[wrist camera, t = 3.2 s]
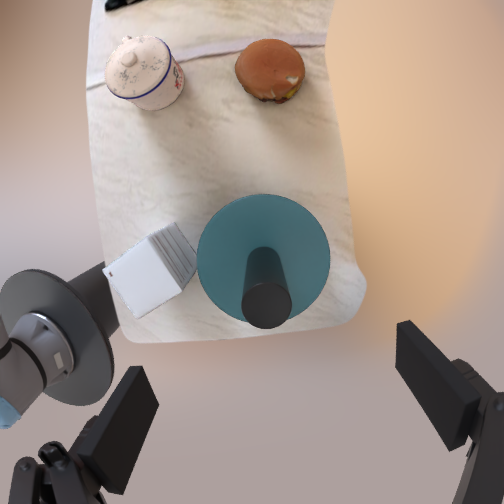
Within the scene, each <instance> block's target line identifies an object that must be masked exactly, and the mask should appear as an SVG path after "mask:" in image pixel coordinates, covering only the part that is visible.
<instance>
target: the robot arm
mask: <svg viewBox="0 0 504 504" xmlns="http://www.w3.org/2000/svg"><path fill="white" fill-rule="evenodd" d="M396 341H397V342H396V365H395V368H396V369H397V370H398V372H399V373H400V375H401V376H402V378H403V379H404V381H405V382H406V384H407V385H408V387H409V389H410V390H411V391H412V393H413V395H414V396H415V398H416V399H417V401H418V402H419V404H420V405H421V407H422V408H423V410H424V412H425V413H426V415H427V416H428V418H429V420H430V421H431V423H432V424H433V425H434V427H435V429H436V431H437V432H438V434H439V436H440V437H441V439H442V440H443V442H444V444H445V445H446V447H447V449H448V450H449V452H450V451H452V450H454V449H456V448H459V447H460V446H462V445H465V443H466V440H467V438H468V435H469V436H470V438H471V439H472V441H473V442H472V444H471V446H470V448H469V451H468V453H467V455H466V456H467V457H468V458H467V461H466V465H465V468H464V471H463V474H462V477H461V480H460V483H459V486H458V489H457V492H456V495H455V497H454V500H453V502H452V504H501V503H502V500H503V496H504V392H498V393H497V392H496V391H495V390H494V389H493V388H492V387H491V386H490V385H489V384H488V383H487V382H486V381H485V380H484V379H483V378H482V377H481V376H480V375H479V374H478V373H477V372H476V371H475V370H474V369H473V368H472V367H471V366H470V365H469V364H468V363H467V362H465V361H463V360H461V359H456V360H453V361H450V360H449V359H448V358H447V357H446V356H445V355H444V354H443V353H442V352H441V351H440V350H439V349H438V348H437V347H436V346H435V345H434V344H433V343H432V342H431V341H430V340H429V339H428V338H427V337H426V336H425V335H424V334H423V333H422V332H421V331H420V330H419V329H418V328H417V327H416V326H415V325H414V324H413V323H412V322H411V321H410V320H408V321H404V322H401V323H397V339H396ZM75 366H76V355H75V351H74V348H73V345H72V343H71V341H70V339H69V337H68V335H67V334H66V332H65V331H64V330H63V328H62V327H61V326H60V325H59V324H58V323H57V322H56V321H55V320H54V319H53V318H51V317H50V316H48V315H47V314H45V313H43V312H39V311H30V312H28V313H26V314H25V315H23V316H22V317H21V318H20V319H19V320H18V322H17V323H16V325H15V327H14V328H13V330H12V332H11V334H10V335H9V336H8V333H7V331H6V328H5V325H4V323H3V320H2V317H1V314H0V429H8V428H10V427H11V426H12V425H13V424H14V423H15V422H16V421H17V420H19V419H20V418H21V416H22V415H23V413H24V412H25V411H26V410H27V409H28V408H29V406H30V405H31V404H32V403H33V402H34V401H35V400H36V398H37V397H38V396H39V395H40V394H41V393H42V392H43V390H44V389H45V388H46V387H49V386H51V385H54V384H56V383H58V382H61V381H63V380H65V379H67V378H68V377H69V376H70V375H71V373H72V372H73V371H74V369H75ZM158 407H159V403H158V401H157V399H156V397H155V394H154V392H153V390H152V388H151V385H150V383H149V381H148V378H147V376H146V374H145V371H144V369H143V367H142V366H130V367H129V368H128V370H127V371H126V373H125V375H124V376H123V378H122V379H121V381H120V383H119V384H118V386H117V387H116V389H115V390H114V392H113V393H112V395H111V397H110V398H109V400H108V401H107V403H106V404H105V406H104V408H103V409H102V411H101V412H100V414H99V416H96V415H95V416H93V417H92V418H91V419H90V420H89V421H87V423H86V425H85V426H84V428H83V430H82V431H81V432H80V434H79V436H78V437H77V439H76V440H75V442H74V443H73V445H72V447H71V448H70V450H69V451H68V452H67V451H66V449H65V448H64V447H63V445H62V444H61V443H60V442H57V441H52V442H48V443H46V444H44V445H43V446H42V447H41V448H40V450H39V451H38V456H39V457H40V459H41V460H42V461H43V463H45V464H38V463H37V462H36V461H35V460H34V458H32V457H23V458H21V459H20V460H18V462H17V463H16V465H15V467H14V472H13V478H12V483H11V489H10V496H9V502H8V504H107V503H106V501H105V499H104V496H103V495H102V493H101V492H100V491H99V490H100V488H101V486H103V487H104V488H105V489H106V490H107V491H108V492H109V493H114V494H119V495H123V494H124V491H125V489H126V486H127V483H128V481H129V478H130V476H131V473H132V471H133V468H134V466H135V463H136V461H137V458H138V455H139V453H140V451H141V448H142V446H143V443H144V441H145V438H146V435H147V433H148V431H149V428H150V426H151V423H152V421H153V419H154V416H155V414H156V411H157V409H158Z"/></svg>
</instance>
